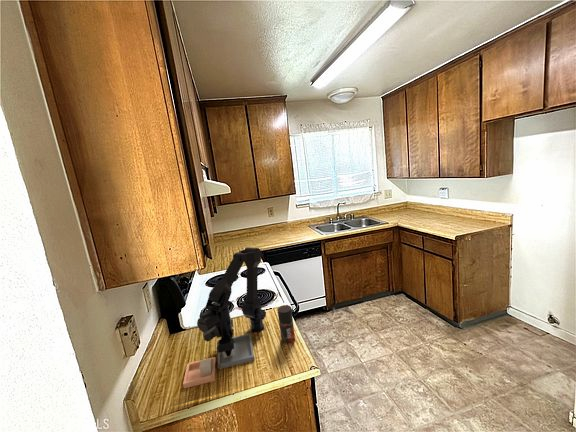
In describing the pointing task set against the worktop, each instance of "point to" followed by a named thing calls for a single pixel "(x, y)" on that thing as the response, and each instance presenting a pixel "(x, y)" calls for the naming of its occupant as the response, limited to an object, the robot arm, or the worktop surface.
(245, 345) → the bin
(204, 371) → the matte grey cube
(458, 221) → the worktop surface
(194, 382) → the dish
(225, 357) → the beige cube
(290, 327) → the deodorant
